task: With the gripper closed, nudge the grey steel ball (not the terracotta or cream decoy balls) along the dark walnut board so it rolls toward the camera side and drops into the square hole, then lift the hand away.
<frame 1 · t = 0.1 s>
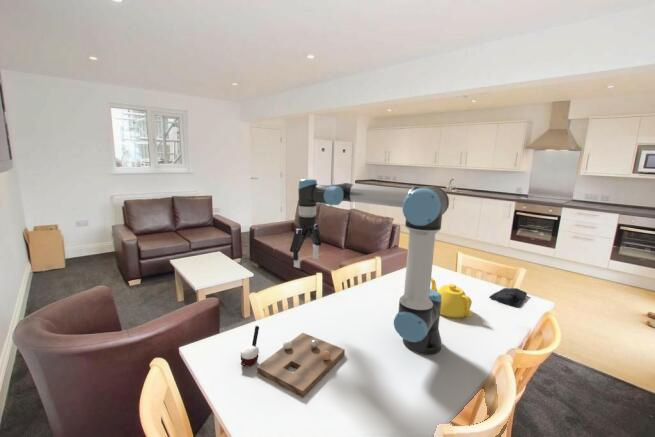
hand: (306, 262, 137), 28 cm above the table, fingers open, 13 cm apart
board: (302, 363, 113), on the table
teapot: (447, 310, 157), on the table
ball: (314, 344, 118), point 4 cm above the table, touching board
dark slate chunk: (509, 299, 173), on the table
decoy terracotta: (326, 355, 112), point 4 cm above the table, touching board
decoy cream: (287, 344, 118), point 4 cm above the table, touching board
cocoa: (250, 363, 113), on the table
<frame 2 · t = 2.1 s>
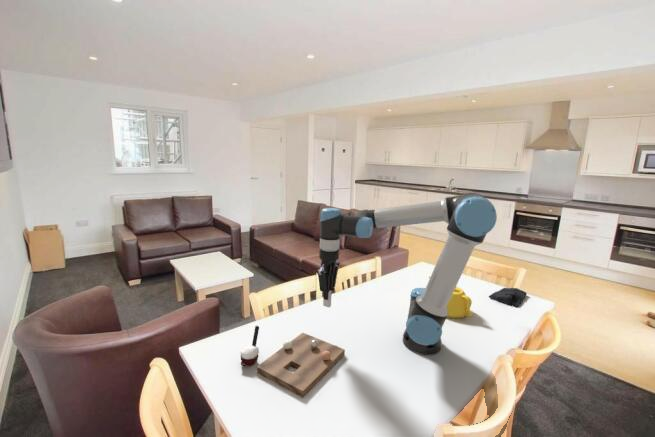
hand: (327, 305, 124), 16 cm above the table, fingers closed
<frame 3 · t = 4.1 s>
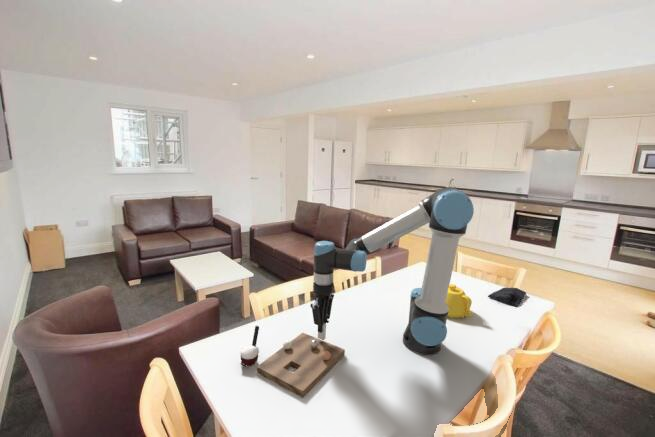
hand: (321, 338, 123), 4 cm above the table, fingers closed
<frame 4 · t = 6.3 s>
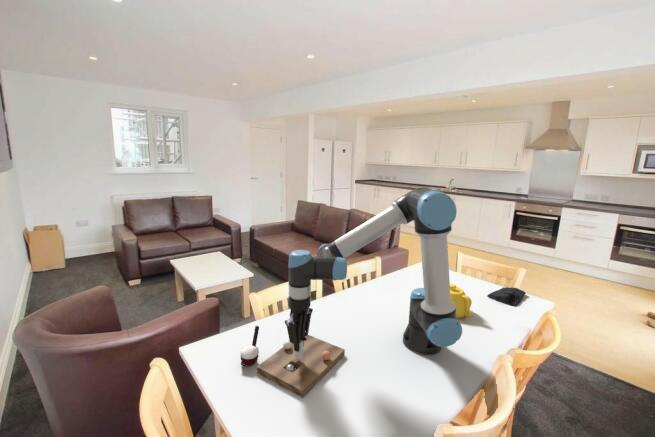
hand: (298, 357, 111), 4 cm above the table, fingers closed
ball: (289, 369, 108), point 2 cm above the table, tilted 154°
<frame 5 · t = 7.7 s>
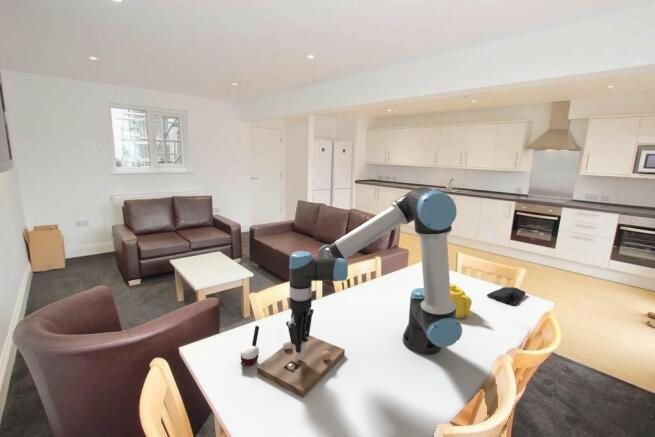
hand: (300, 358, 111), 3 cm above the table, fingers closed
ball: (291, 368, 108), point 2 cm above the table, tilted 132°
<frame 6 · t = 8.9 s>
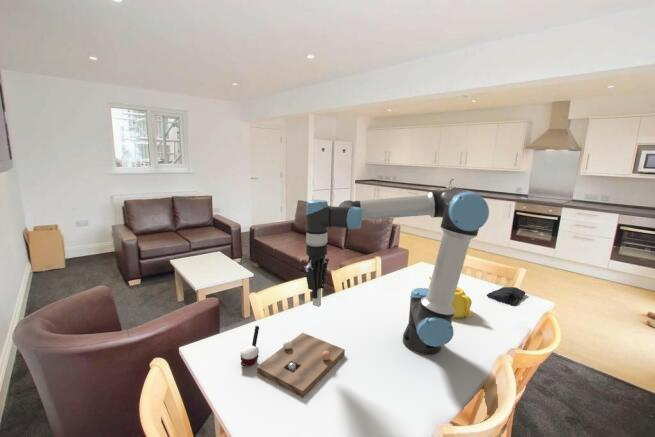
hand: (316, 305, 116), 20 cm above the table, fingers closed
ball: (291, 367, 109), point 2 cm above the table, tilted 113°
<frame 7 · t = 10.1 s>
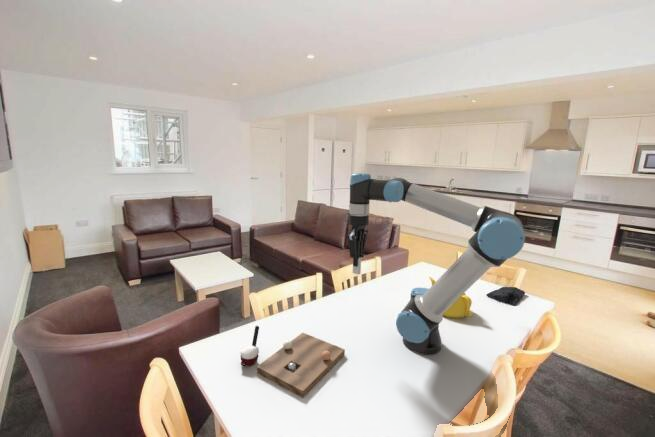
hand: (356, 273, 123), 29 cm above the table, fingers closed
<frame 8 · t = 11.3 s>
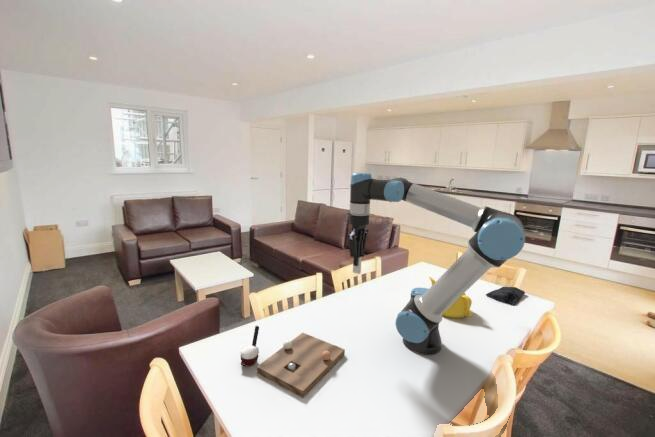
hand: (356, 272, 123), 29 cm above the table, fingers closed
at the end: ball 0.7 cm from the target spot on the board, point 1.6 cm above the board's base; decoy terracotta moved 0.0 cm from its start; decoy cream moved 0.0 cm from its start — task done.
